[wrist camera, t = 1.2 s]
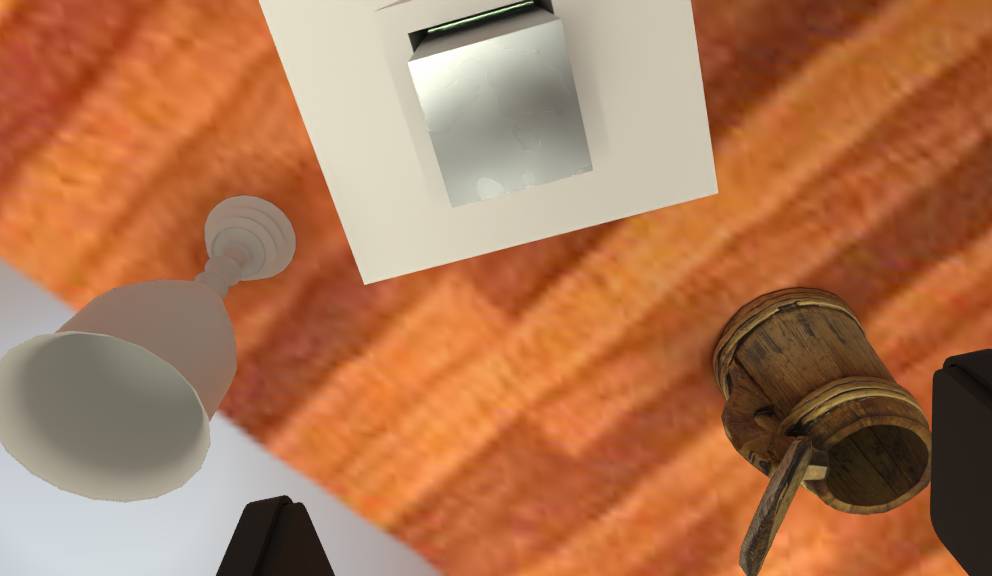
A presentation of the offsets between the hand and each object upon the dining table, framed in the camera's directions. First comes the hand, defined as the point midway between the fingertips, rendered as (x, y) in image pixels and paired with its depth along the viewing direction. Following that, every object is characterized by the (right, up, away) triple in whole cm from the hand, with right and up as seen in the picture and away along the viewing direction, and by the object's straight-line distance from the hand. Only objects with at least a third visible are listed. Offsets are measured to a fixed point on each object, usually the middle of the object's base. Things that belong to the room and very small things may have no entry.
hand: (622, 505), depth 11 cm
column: (-2, +15, +25) cm, 29 cm away
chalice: (-16, +6, +30) cm, 35 cm away
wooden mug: (+14, 0, +34) cm, 37 cm away
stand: (-2, +15, +26) cm, 31 cm away
